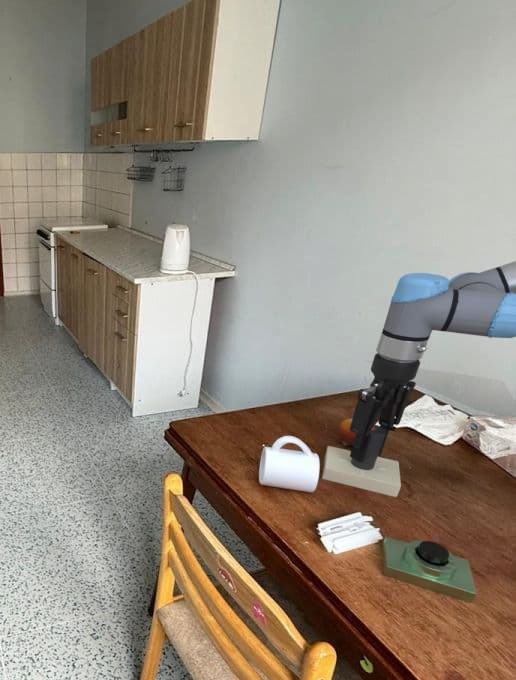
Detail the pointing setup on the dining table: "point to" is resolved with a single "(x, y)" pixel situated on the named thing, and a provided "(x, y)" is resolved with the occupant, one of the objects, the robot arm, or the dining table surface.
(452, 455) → the dining table surface
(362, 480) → the panel
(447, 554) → the button
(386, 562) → the button box
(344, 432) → the fruit
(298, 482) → the mug
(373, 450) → the dark grey cylinder
